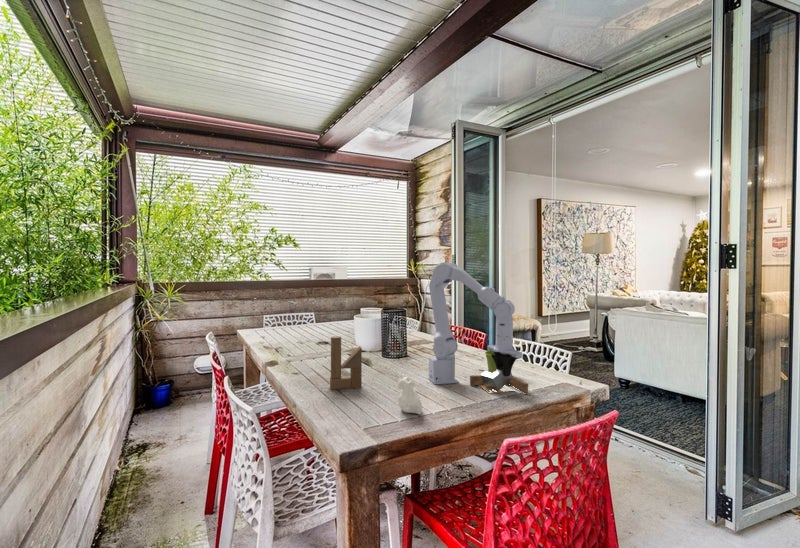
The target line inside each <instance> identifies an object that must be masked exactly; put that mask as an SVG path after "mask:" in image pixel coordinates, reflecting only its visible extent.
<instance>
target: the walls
mask: <svg viewBox="0 0 800 548" xmlns="http://www.w3.org/2000/svg"><path fill="white" fill-rule="evenodd" d="M512 376H513V379H511V380H510V381H509V382H508V384H510V385H512V386H514V387H515V388H517V389H519V390H520V391H522V392H524V393H528V394H529V383H527V382H526V381H523V380H522V379H519V378H518V377H517V376H514V375H512ZM508 384H507V385H508ZM470 385H471V386H470ZM472 385H484V383H483V380H482V378H481V374H479V375H469V386H470V387H473V386H472ZM510 385H509V386H510ZM512 386H511V387H512ZM515 388H514V389H515ZM517 389H516V390H517ZM520 391H519V392H520ZM522 392H521V393H522ZM524 393H523V394H524Z"/></svg>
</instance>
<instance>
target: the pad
mask: <svg viewBox="0 0 800 548" xmlns="http://www.w3.org/2000/svg"><path fill="white" fill-rule="evenodd" d="M479 386H480V387H481V388H480V389H482V388H483V389H484V390H483V389H482V390H483V391H485V390H487V391H488V392H490V391H489V390H491V391H492V389H491V388H488V387H485V385H479ZM479 386H478V387H479ZM502 388H504V387H502ZM502 388H501V389H502ZM488 392H487V393H488ZM492 392H494V391H492ZM497 392H501V393H504V392H503V391H501V390H499V391H497Z"/></svg>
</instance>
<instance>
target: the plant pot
mask: <svg viewBox="0 0 800 548" xmlns="http://www.w3.org/2000/svg"><path fill="white" fill-rule="evenodd" d="M491 354H494V351H488V350H486V351H484V355H485V358H486V362H487V370H488V371H487V372H490V373H494V372H495V371H496V370H497V368H496V364H495V362H494V360H493V358H492V356H491Z"/></svg>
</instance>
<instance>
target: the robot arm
mask: <svg viewBox="0 0 800 548" xmlns="http://www.w3.org/2000/svg"><path fill="white" fill-rule="evenodd" d="M431 271H432V275H431V277H430V278H431V279H430V282H429V284H428V287H429V295H430V301H431V308H432V312H433V313H432V314H433V320H434V327H435V334H434V337H433V346H432V352H433V354H434V357H430V358H429V360H428V378H427V379H428V380H429V381H430V382H432V384H434V385H446V384H458V383H460V381H458V379H457V378H456V354H455V353H457V351H458V346H459V345H458V342H457V341H456V338H455V337H454V336H455V335H454V333H453V332H452V331H451V327H450V321H449V320H450V319H449V312H448V305H447V299H446V294H445V288H446V287H447V286H448V284H449V283H451V282H453V281H456V282H457V281H458V282H460V283H462V284H463V285H465V286H466V287H467V288H469V290H471V291H472V292H474V293H475V294H476V295H477V299H478V300H479V301H480V302H481V303H483V304H484V305H485V306H486V307H487V308H489V309H490V310H491V311H493V314H494V316H495V317H496V318H495V344H487V351H494V354H491V356H492V358H493V360H494V362H495V364H496V368H497V369H499V368H500V367H501V366H502V365H503V370H504V376H505V377H506V376H510V373H512V370H513V369H512V368H513V366H514V364H515V362H516V360H517V359H522V358H523V352H522V351H519V350H517V349H515V348H513V346H514V345H513V344H514V341H513V339H514V322H513V321H514V319H513V318H514V316H513V315H514V314H515V311H516V308H515V305H514V303H513V302H512V301H511V300H507V299H506V297H505V296H501V295H500V294H498V293H497V292H496V291H495V290H496V289H495V288H494V287H489V286H483V285H482V284H480V283H479V282H478V281H477V279H475V278H474V277H472V275H470V274H469V273H468V272H467V271H466V270H465V269H464V268H462V267H460V266H458V265H457V263H454V262H440V263H437V264H436V266H435V267H434V268H433V269H432V270H431Z"/></svg>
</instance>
